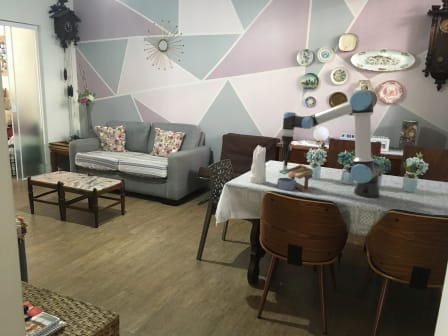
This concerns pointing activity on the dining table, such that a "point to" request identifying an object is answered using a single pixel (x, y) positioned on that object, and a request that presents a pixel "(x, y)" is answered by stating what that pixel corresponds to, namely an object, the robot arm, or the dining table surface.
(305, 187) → the pivot stand
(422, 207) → the dining table surface
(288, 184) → the grey round container
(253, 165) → the decorative vase
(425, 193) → the dining table surface
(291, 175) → the rubber ball
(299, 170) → the tipping tray
